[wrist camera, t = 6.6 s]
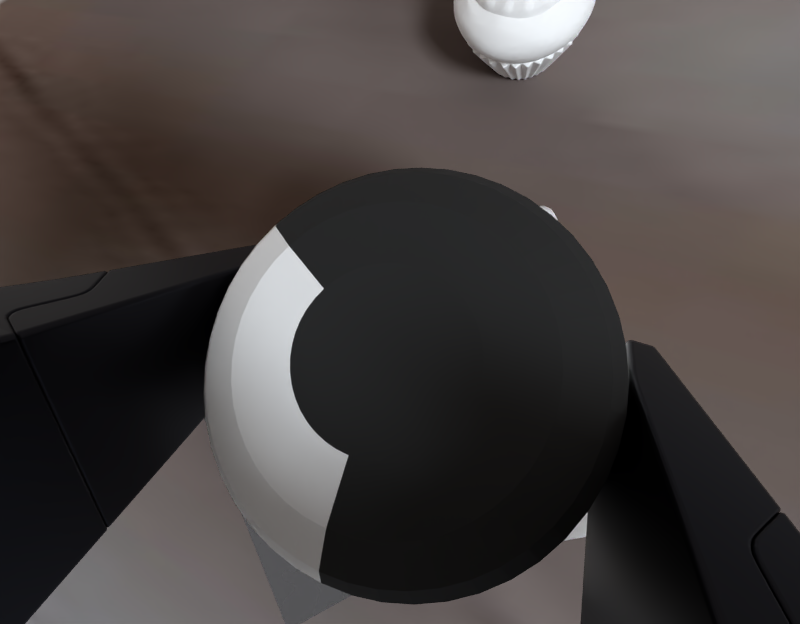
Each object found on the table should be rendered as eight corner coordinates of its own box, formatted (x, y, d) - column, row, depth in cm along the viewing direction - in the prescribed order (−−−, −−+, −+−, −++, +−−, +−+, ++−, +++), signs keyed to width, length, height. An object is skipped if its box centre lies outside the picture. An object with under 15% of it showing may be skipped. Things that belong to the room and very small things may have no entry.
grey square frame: (308, 611, 21) (287, 630, 19) (210, 373, 25) (185, 369, 23) (591, 454, 20) (599, 457, 18) (445, 228, 24) (439, 211, 22)
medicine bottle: (537, 282, 18) (582, 32, 6) (599, 482, 16) (818, 631, 5) (355, 331, 19) (119, 193, 8) (393, 524, 17) (155, 725, 6)
